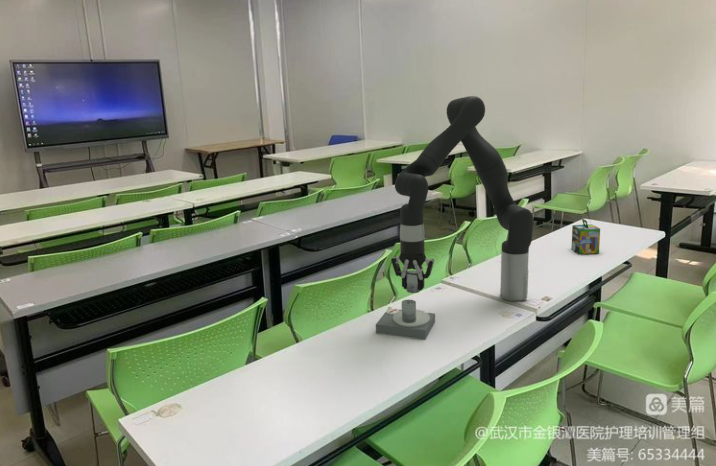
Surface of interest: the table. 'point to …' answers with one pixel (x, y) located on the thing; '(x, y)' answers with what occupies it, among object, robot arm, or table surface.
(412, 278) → the cylinder
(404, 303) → the cylinder
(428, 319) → the scale
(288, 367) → the table surface
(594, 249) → the colorful box with handle
